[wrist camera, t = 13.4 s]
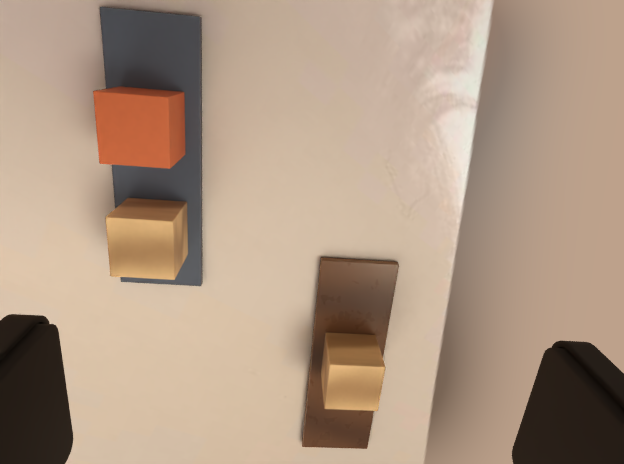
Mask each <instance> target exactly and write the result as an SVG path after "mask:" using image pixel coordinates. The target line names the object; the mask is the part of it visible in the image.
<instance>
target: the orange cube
mask: <svg viewBox="0 0 624 464" xmlns="http://www.w3.org/2000/svg"><path fill="white" fill-rule="evenodd" d="M93 93H94V105H95V116H96V127H97V139H98V150H99V162H100V164H113V165H126V166H140V167H154V168H168V169H170V168H171V167H172V166H174V165H175V164H176V163H177V162H178V161H179V160H180V159H181V158H182V157H183V156H184V155H185V98H184V92H179V91H167V90H156V89H144V88H132V87H114V88H108V89H102V90H96V91H93Z"/></svg>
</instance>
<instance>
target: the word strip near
mask: <svg viewBox="0 0 624 464" xmlns="http://www.w3.org/2000/svg"><path fill="white" fill-rule="evenodd" d="M100 16H101V29H102V42H103V55H104V68H105V81H106V89H108V88H114V87H132V88H144V89H156V90H167V91H179V92H184V98H185V155H184V156H183V157H182V158H181V159H180V160H179V161H178V162H177V163H176V164H175V165H174V166H172V167H171V168H170V169H168V168H154V167H140V166H126V165H113V164H112V172H113V185H114V198H115V209H116V208H117V207H118V206H119V205H120V204H121V203H123V202H124V201H125V200H126V199H127V198H139V199H154V200H168V201H183V202H187V222H188V255H187V257H186V259H185V261H184V263H183V265H182V267H181V268H180V270H179V272H178V274H177V276H176V278H175V280H168V279H150V278H132V277H121V282H135V283H153V284H172V285H190V286H201V285H202V23H201V17H200V16H192V15H182V14H171V13H161V12H151V11H141V10H130V9H120V8H110V7H100Z"/></svg>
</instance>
